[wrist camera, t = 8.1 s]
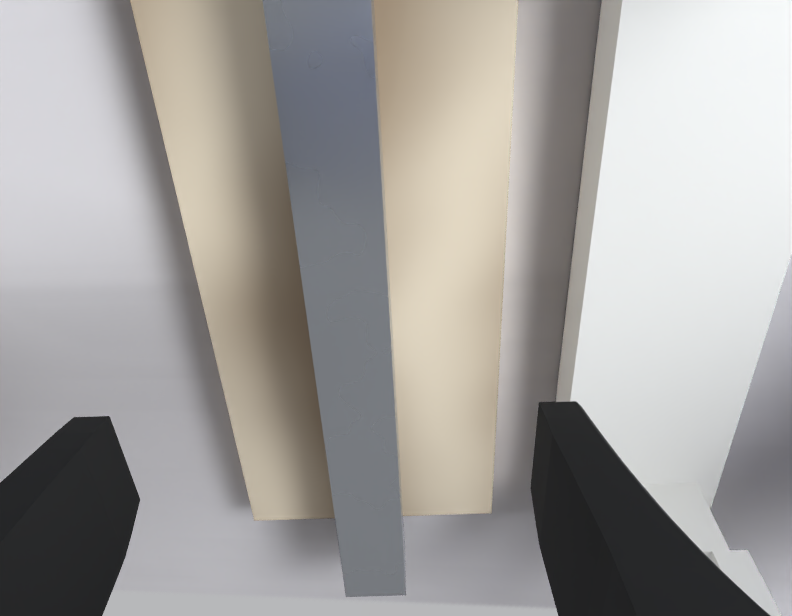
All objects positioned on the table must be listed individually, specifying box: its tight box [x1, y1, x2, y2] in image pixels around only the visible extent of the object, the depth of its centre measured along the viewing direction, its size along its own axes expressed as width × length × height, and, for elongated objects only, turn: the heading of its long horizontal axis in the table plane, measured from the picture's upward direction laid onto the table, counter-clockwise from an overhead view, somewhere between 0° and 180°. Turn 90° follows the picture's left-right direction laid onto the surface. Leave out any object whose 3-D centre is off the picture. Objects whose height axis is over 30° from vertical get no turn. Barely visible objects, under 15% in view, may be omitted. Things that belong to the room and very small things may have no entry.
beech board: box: [130, 0, 518, 521], centre depth 18 cm, size 8×20×1 cm, turn 2°
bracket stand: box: [556, 0, 792, 616], centre depth 15 cm, size 5×22×7 cm, turn 2°
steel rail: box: [262, 0, 406, 597], centre depth 17 cm, size 2×24×2 cm, turn 2°
